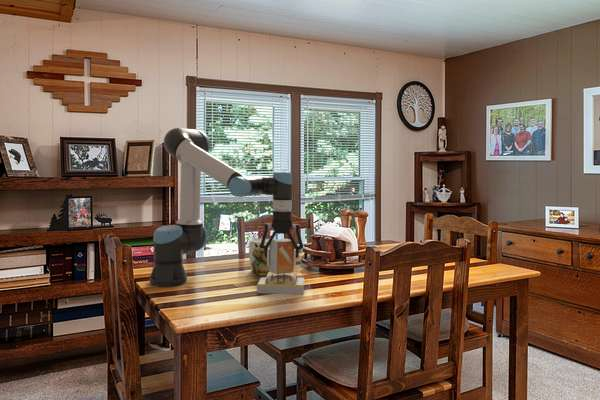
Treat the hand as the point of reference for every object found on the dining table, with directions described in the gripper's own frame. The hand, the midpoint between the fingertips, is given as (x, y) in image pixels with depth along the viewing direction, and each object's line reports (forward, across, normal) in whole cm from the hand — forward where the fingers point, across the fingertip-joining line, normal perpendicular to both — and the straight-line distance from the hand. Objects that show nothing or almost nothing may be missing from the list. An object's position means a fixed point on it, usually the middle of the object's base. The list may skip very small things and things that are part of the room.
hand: (281, 265), depth 200 cm
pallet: (+7, 0, 0) cm, 7 cm away
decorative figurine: (+10, -10, +21) cm, 25 cm away
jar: (+10, -12, +31) cm, 35 cm away
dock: (+10, 0, 0) cm, 10 cm away
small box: (+3, 0, 0) cm, 3 cm away
